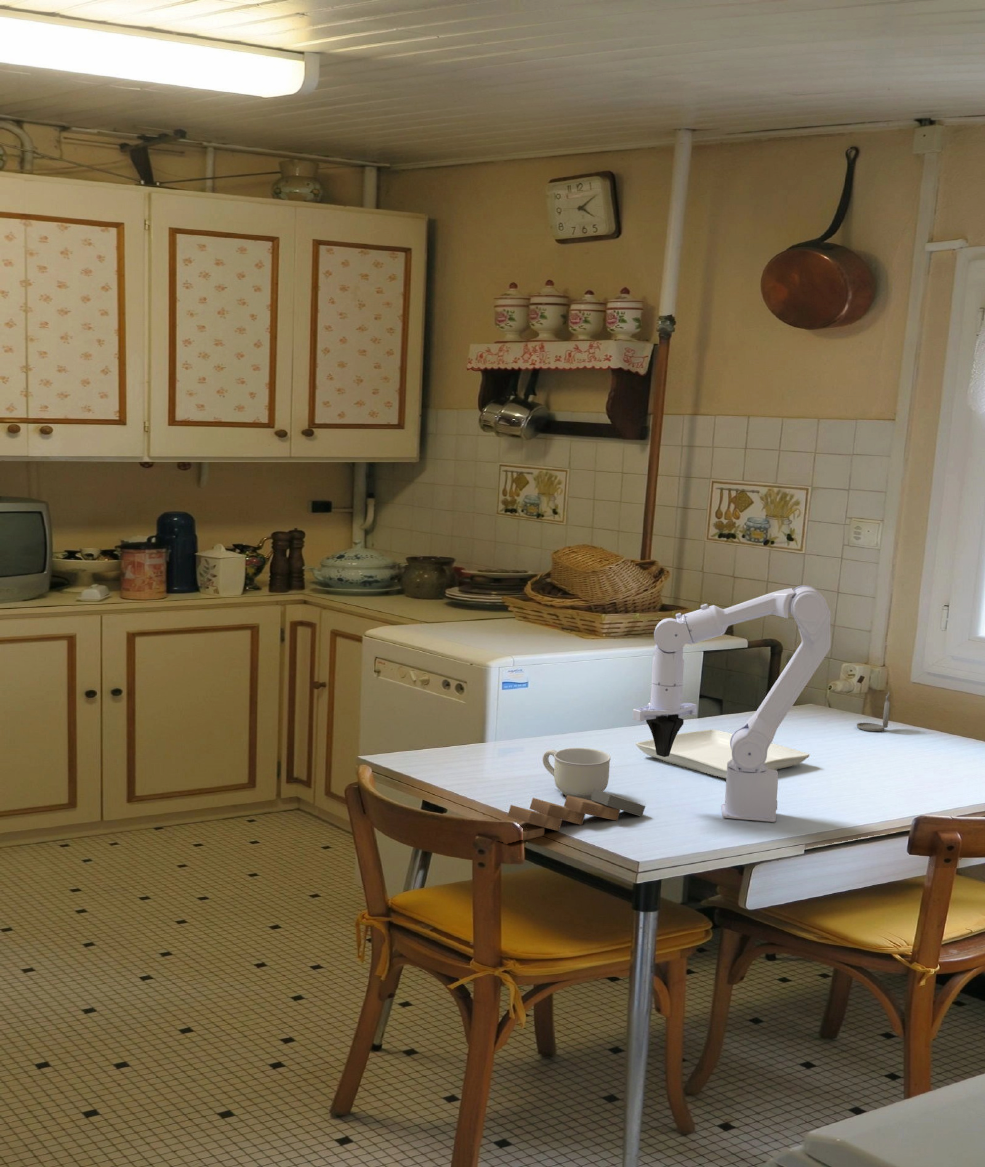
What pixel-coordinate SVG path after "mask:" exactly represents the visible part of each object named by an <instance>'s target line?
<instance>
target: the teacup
mask: <svg viewBox="0 0 985 1167" xmlns="http://www.w3.org/2000/svg"><path fill="white" fill-rule="evenodd" d="M550 756H552V757H553V758H554V762H553V763H554V764H553V765H554V766H553V765H552V764H551V762H550V758H549V757H550ZM610 762H611V756H610V754H608V753H607V752H605V751H602V750H599V749H594V748H587V747H572V748H571V747H570V748H563V749H561V750H558V751H557V750H555V749H548V750H545V752H544V754H543V755H542V764H543V766H544V768H545V769H546V771H547V772H548V773H549V774H551V775H552V776H553V778H554V780H553V781H554V784H555V787H556V788H557V789H558V790H559V791H560V792H561V793H562V794H563V795H564V796H566V797H567V795H568V796H573V797H577V798H582V799H586V800H591V797H592V794H593V791H594V789H597V790H600V791H603V792H605V790H606V789H607V787H608V784H609V779H610Z"/></svg>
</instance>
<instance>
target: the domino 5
mask: <svg viewBox="0 0 985 1167" xmlns="http://www.w3.org/2000/svg"><path fill="white" fill-rule="evenodd" d="M590 800H591V801H595V802H599V803H601V804H604V805H606V806H609V807H613V808H616V809H619V810H620V811H623V812H625V813H629V814H633V815H636V816H638V817H643V815H644V811H645V809H646V805H643V804H641V803H638V802H637V801H633V800H630V799H627V798H626V797H625V798H624V797H621V796H618V795H616V794H615V795H614V794H612V793H609V792H607V791H600V790H597V789H594V791H593V794H592V797H591V799H590Z"/></svg>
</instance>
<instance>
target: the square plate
mask: <svg viewBox="0 0 985 1167" xmlns="http://www.w3.org/2000/svg"><path fill="white" fill-rule="evenodd" d="M732 735H733V733H730V732H726V731H722V730H719V729H718V730H717V729H706V730H704V729H703V730H698V731H689V732H684V733H677V735H676V737H675V739H674V742H673V745H672V748H671V751H670V754H669V756H667V757H662V756H659V755H657V754H656V748H655V743H654V739H653V738H652V739H648V740H644V741H638V742H635V746H636V747H638V749H639V750H640V751H641V752H642V753H644V754H645V755H648V756H650V757H652V758H656V759H659V760H660V761H662V760H663V762H664V761H666V762H665V763H667V762H670V763H669V764H671V763H672V765H674V764H677V765H676V766H678V765H680V766H679V767H681V766H683V767H682V768H685V767H687V768H686V769H688V768H691V769H690V770H692V769H694V770H693V771H695V770H698V771H697V772H699V771H700V772H699V773H702V772H704V773H703V774H706V773H707V774H706V775H709V774H711V775H710V776H712V775H714V777H717V776H718V777H717V778H721V779H726V777H727V763H728V762H729V761H730V760H731V759H732V750H731V747H730V740H731V737H732ZM810 756H811V753H807V752H803V751H800V750H797V749H793V748H790V747H787V746H783V745H779V744H778V743H777V744H776V743H774V742H771V744H770V746H769V747H768V751H767V758H766V761H765V764H766V765H767V769H771V770H777V771H778V770H781V769H785V768H789V767H793V766H797V765H799V764H802V763H803V762H804V761H805V760H806V759H809V757H810Z"/></svg>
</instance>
